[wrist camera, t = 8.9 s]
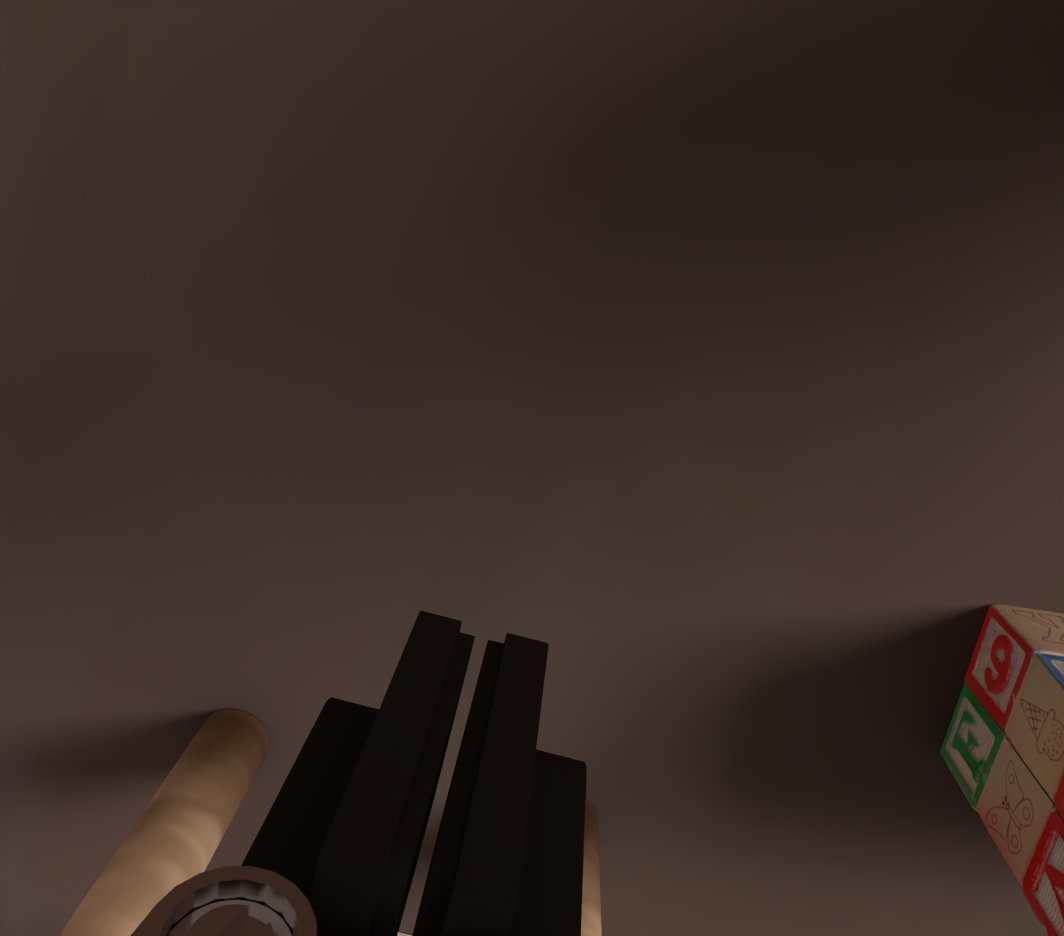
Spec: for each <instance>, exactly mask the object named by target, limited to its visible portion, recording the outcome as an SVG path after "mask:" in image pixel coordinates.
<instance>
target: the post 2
mask: <svg viewBox="0 0 1064 936" xmlns="http://www.w3.org/2000/svg"><path fill="white" fill-rule="evenodd" d="M581 936H602V935H601V902H600V869H599V836H598V816H597V813H596V810H595V809H594V807H593V806H592V804H591V803H590V802H589V801H587V800H585V830H584V860H583V889H582V919H581Z"/></svg>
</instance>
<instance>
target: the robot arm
mask: <svg viewBox="0 0 1064 936" xmlns="http://www.w3.org/2000/svg"><path fill="white" fill-rule="evenodd" d="M461 622H462V621H459V620H455V619H451V618H447V617H444V616H440V615H436V614H432V613H428V612H424V611H420V613H419V615H418V617H417V619H416V622H415V624H414V627H413V629H412V631H411V634H410V636H409V639H408V641H407V644H406V646H405V648H404V651H403V653H402V656H401V658H400V661H399V663H398V665H397V668H396V670H395V673H394V675H393V678H392V680H391V682H390V685H389V687H388V690H387V692H386V694H385V697H384V699H383V702H382V704H381V707H380V709H375V708H371V707H367V706H363V705H359V704H355V703H351V702H348V701H344V700H340V699H336V698H332V697H331V698H330V699H328V700H327V702H326V704H325V705H324V707H323V709H322V711H321V713H320V714H319V716H318V718H317V720H316V722H315V724H314V726H313V728H312V730H311V732H310V734H309V736H308V738H307V740H306V742H305V744H304V745H303V747H302V749H301V751H300V753H299V755H298V757H297V759H296V761H295V763H294V765H293V767H292V769H291V771H290V773H289V775H288V776H287V778H286V780H285V782H284V784H283V786H282V788H281V790H280V792H279V794H278V796H277V798H276V800H275V802H274V804H273V806H272V807H271V809H270V811H269V813H268V815H267V817H266V819H265V821H264V823H263V825H262V827H261V829H260V831H259V833H258V835H257V837H256V838H255V840H254V842H253V844H252V846H251V848H250V850H249V852H248V854H247V856H246V858H245V860H244V862H243V864H242V866H225V867H221V868H217V869H214V870H210V871H206V872H202V873H199V874H197V875H195V876H193V877H192V878H190V879H188V880H186V881H184V882H182V883H181V884H179V885H177V886H175V887H174V888H173V889H172V890H171V891H170V892H169V893H168V894H167V895H166V896H164V897H163V898H162V899H161V900H160V901H159V902H158V903H157V904H156V905H155V906H154V907H153V909H152V910H151V911H150V912H149V914H148V915H147V916H146V917H145V918H144V920H143V921H142V922H141V923H140V925H139V926H138V927H137V928H136V930H135V931H134V932H133V933H132V934H131V936H397V935H398V931H399V927H400V924H401V920H402V916H403V912H404V909H405V905H406V901H407V898H408V894H409V890H410V886H411V883H412V879H413V875H414V872H415V868H416V864H417V860H418V857H419V853H420V849H421V846H422V842H423V838H424V835H425V831H426V827H427V823H428V820H429V816H430V812H431V808H432V804H433V800H434V796H435V793H436V789H437V785H438V781H439V777H440V773H441V769H442V765H443V761H444V757H445V753H446V749H447V745H448V741H449V737H450V733H451V729H452V725H453V721H454V717H455V714H456V710H457V706H458V702H459V698H460V694H461V690H462V686H463V682H464V678H465V674H466V670H467V666H468V662H469V658H470V654H471V650H472V646H473V642H474V638H475V636H471V635H468V634H464V633H460V627H461ZM547 653H548V643H545V642H541V641H537V640H533V639H529V638H525V637H522V636H518V635H514V634H510V633H507V635H506V638H505V642H504V644H503V643H499V642H495V641H491V640H488V642H487V646H486V650H485V654H484V658H483V662H482V665H481V669H480V673H479V677H478V681H477V685H476V688H475V692H474V696H473V700H472V704H471V708H470V711H469V715H468V719H467V723H466V727H465V731H464V735H463V738H462V742H461V746H460V750H459V754H458V758H457V761H456V765H455V769H454V773H453V777H452V781H451V784H450V788H449V792H448V796H447V800H446V804H445V808H444V811H443V815H442V819H441V823H440V827H439V831H438V835H437V839H436V843H435V847H434V851H433V855H432V859H431V863H430V867H429V871H428V875H427V879H426V883H425V887H424V891H423V895H422V899H421V903H420V907H419V911H418V915H417V919H416V923H415V927H414V931H413V935H412V936H581V919H582V889H583V860H584V830H585V800H586V765H585V762H582V761H578V760H574V759H571V758H567V757H563V756H559V755H555V754H551V753H547V752H543V751H539V750H536V744H537V736H538V727H539V719H540V711H541V703H542V694H543V686H544V678H545V669H546V661H547Z"/></svg>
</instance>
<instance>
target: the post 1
mask: <svg viewBox="0 0 1064 936" xmlns="http://www.w3.org/2000/svg"><path fill="white" fill-rule="evenodd" d="M269 747H270V738H269V734H268V732H267V730H266V728H265V727H264V725H263V724H262V723H261V722H260V721H259V720H258V719H257V718H256V717H254V716H253V715H251V714H249V713H247V712H244V711H241V710H237V709H224V710H219V711H217V712H214V713H213V714H211V715H210V716H209V717H208V718H207V719H206V720H205V721H204V723H203V724H202V726H201V727H200V729H199V730H198V732H197V733H196V735H195V736H194V738H193V739H192V741H191V742H190V743H189V745H188V746H187V748H186V749H185V751H184V752H183V754H182V755H181V757H180V758H179V760H178V761H177V763H176V764H175V766H174V767H173V768H172V770H171V771H170V773H169V774H168V776H167V777H166V779H165V780H164V782H163V783H162V785H161V786H160V788H159V789H158V791H157V792H156V793H155V795H154V796H153V798H152V799H151V801H150V802H149V804H148V805H147V807H146V808H145V810H144V811H143V813H142V814H141V816H140V817H139V819H138V820H137V821H136V823H135V824H134V826H133V827H132V829H131V830H130V832H129V833H128V835H127V836H126V838H125V839H124V841H123V842H122V844H121V845H120V846H119V848H118V849H117V851H116V852H115V854H114V855H113V857H112V858H111V860H110V861H109V863H108V864H107V866H106V867H105V869H104V870H103V872H102V873H101V874H100V876H99V877H98V879H97V880H96V882H95V883H94V885H93V886H92V888H91V889H90V891H89V892H88V894H87V895H86V897H85V898H84V899H83V901H82V902H81V904H80V905H79V907H78V908H77V910H76V911H75V913H74V914H73V916H72V917H71V919H70V920H69V922H68V923H67V924H66V926H65V928H64V929H63V931H62V934H61V936H131V934H132V933H133V932H134V931H135V930H136V928H137V927H138V926H139V925H140V923H141V922H142V921H143V920H144V918H145V917H146V916H147V915H148V914H149V912H150V911H151V910H152V909H153V907H154V906H155V905H156V904H157V903H158V902H159V901H160V900H161V899H162V898H163V897H164V896H166V895H167V894H168V893H169V892H170V891H171V890H172V889H173V888H174V887H175V886H177V885H179V884H181V883H182V882H184V881H186V880H188V879H190V878H192V877H193V876H195V875H197V874H199V873H202V872H204V871H205V869H206V867H207V865H208V863H209V861H210V860H211V858H212V856H213V854H214V852H215V850H216V848H217V847H218V845H219V843H220V841H221V839H222V837H223V835H224V833H225V832H226V830H227V828H228V826H229V824H230V822H231V820H232V818H233V817H234V815H235V813H236V811H237V809H238V807H239V805H240V803H241V802H242V800H243V798H244V796H245V794H246V792H247V790H248V788H249V787H250V785H251V783H252V781H253V779H254V777H255V775H256V774H257V772H258V770H259V768H260V766H261V764H262V762H263V760H264V759H265V757H266V755H267V753H268V751H269Z"/></svg>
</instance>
